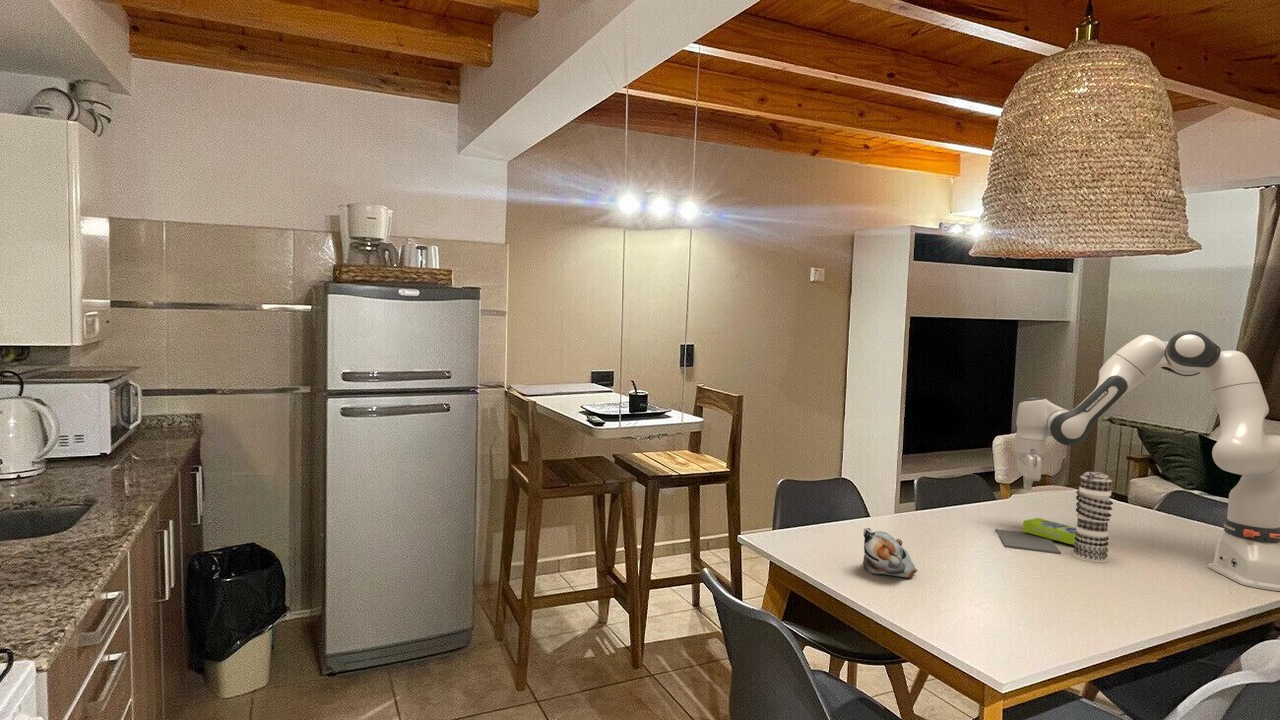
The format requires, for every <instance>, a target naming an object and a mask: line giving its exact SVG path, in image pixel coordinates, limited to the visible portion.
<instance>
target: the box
mask: <svg viewBox="0 0 1280 720" xmlns="http://www.w3.org/2000/svg"><path fill="white" fill-rule="evenodd" d="M1021 532H1025V533H1030V534H1034V535H1037V536H1041V537H1045V538H1049V539H1051V540H1052V541H1057V542H1061V543H1064V544H1067V545H1068V544H1069V545H1072V546H1074V543H1075V542H1076V540H1075V538H1074V537H1076V536H1077V535H1075V532H1076V527H1074V526H1070V525H1066V524H1063V523H1059V522H1055V521H1053V520H1052V521H1051V520H1048V519H1043V518H1039V517H1036V518H1031V519H1026V520H1025V519H1024V520H1023V522H1022V531H1021Z"/></svg>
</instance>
